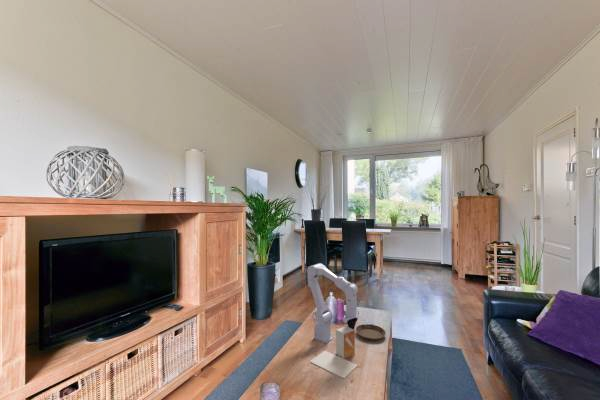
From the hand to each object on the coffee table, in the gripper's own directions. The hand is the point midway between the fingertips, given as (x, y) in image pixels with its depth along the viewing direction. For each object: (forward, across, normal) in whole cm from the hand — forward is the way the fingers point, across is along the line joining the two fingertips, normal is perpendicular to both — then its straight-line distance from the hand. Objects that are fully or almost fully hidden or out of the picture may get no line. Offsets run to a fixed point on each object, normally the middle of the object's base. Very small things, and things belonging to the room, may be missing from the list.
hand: (351, 331), depth 148 cm
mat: (+10, -18, 0) cm, 21 cm away
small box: (+10, -6, 0) cm, 12 cm away
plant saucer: (+10, +21, -1) cm, 24 cm away
